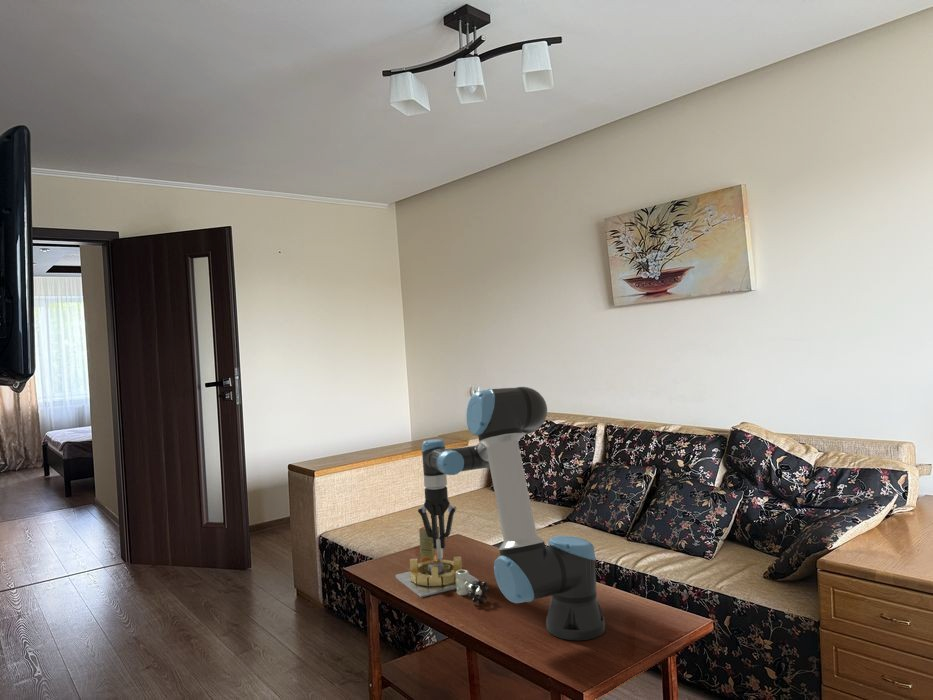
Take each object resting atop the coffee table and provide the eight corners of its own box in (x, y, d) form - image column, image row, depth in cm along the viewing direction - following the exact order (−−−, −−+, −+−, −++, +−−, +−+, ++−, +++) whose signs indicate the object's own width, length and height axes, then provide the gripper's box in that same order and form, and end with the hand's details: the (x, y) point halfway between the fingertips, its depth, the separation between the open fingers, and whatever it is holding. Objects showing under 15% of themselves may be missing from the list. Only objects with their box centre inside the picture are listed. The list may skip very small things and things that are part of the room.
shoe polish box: (420, 563, 223) (419, 528, 222) (428, 558, 227) (426, 525, 227) (433, 565, 220) (431, 530, 220) (440, 560, 224) (438, 526, 224)
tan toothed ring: (461, 566, 214) (461, 549, 214) (461, 584, 198) (461, 566, 198) (412, 568, 214) (411, 551, 214) (408, 587, 197) (407, 568, 197)
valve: (450, 593, 194) (470, 606, 184) (449, 572, 194) (469, 583, 184) (468, 588, 198) (490, 601, 188) (467, 567, 198) (489, 578, 188)
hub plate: (479, 583, 202) (478, 567, 202) (421, 597, 192) (420, 580, 192) (450, 565, 219) (449, 550, 219) (395, 577, 210) (394, 562, 210)
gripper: (457, 484, 215) (461, 554, 215) (420, 484, 217) (424, 554, 217) (452, 489, 207) (456, 561, 207) (413, 489, 210) (418, 561, 210)
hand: (440, 557), depth 212 cm, fingers closed
